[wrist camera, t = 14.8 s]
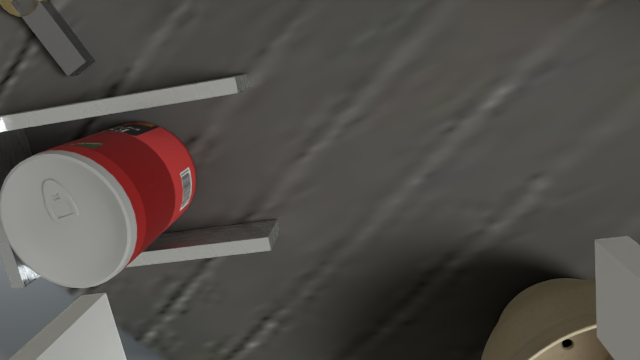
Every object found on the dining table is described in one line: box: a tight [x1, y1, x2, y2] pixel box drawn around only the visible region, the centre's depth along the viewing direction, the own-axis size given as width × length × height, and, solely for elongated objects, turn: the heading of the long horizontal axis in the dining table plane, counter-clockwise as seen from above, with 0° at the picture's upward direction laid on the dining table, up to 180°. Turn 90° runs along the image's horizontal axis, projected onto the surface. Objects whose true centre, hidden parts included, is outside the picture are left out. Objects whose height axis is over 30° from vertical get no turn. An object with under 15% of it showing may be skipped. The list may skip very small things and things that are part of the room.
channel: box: [0, 74, 280, 288], centre depth 35 cm, size 12×19×5 cm, turn 99°
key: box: [0, 0, 95, 76], centre depth 34 cm, size 8×3×1 cm, turn 35°
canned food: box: [0, 122, 196, 288], centre depth 32 cm, size 8×8×11 cm
